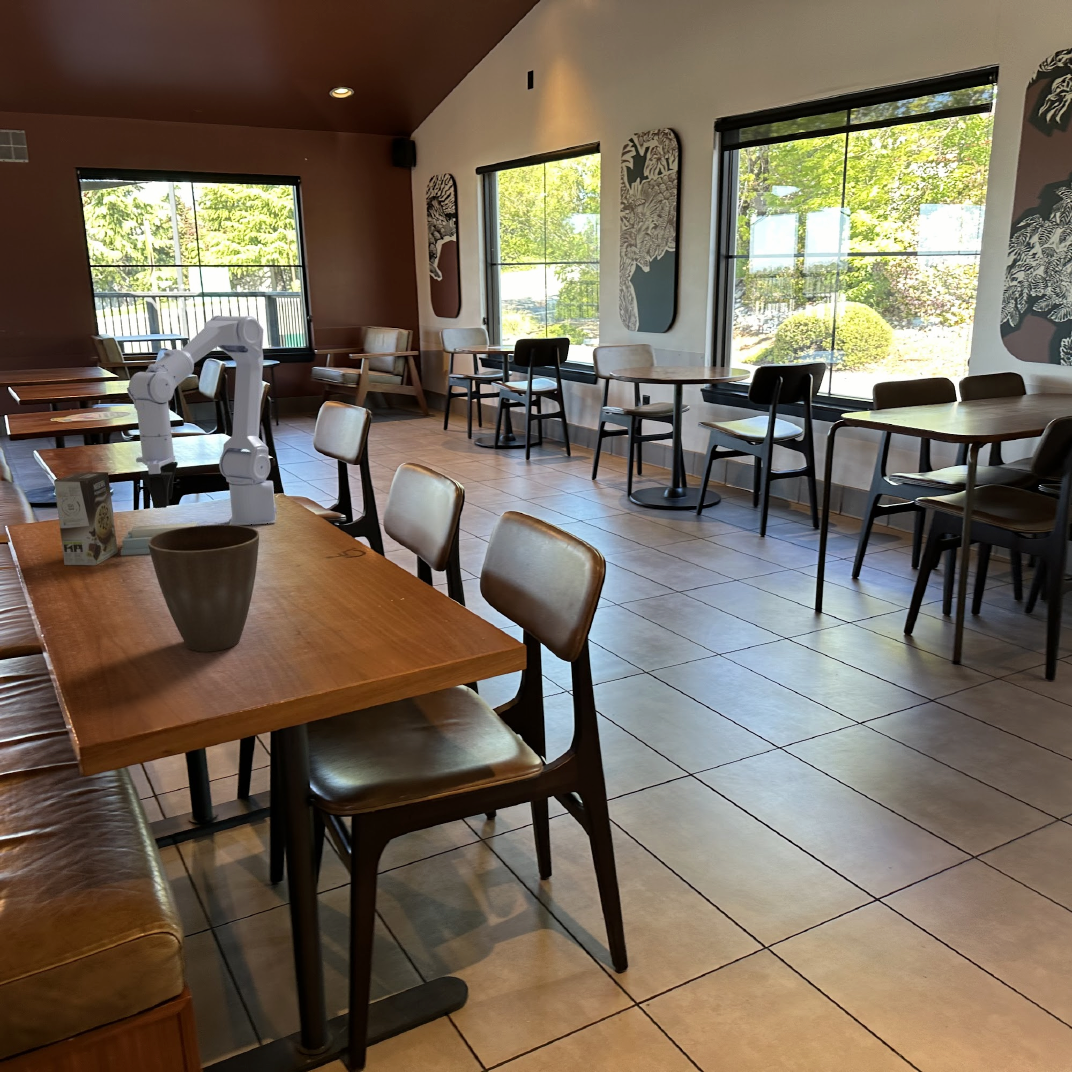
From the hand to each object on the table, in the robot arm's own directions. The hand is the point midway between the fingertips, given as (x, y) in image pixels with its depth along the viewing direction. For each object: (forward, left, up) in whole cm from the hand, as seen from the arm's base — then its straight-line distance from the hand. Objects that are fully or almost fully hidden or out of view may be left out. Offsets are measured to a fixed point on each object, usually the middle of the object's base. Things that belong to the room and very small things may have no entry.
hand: (163, 503), depth 188 cm
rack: (0, 0, -9) cm, 9 cm away
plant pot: (-13, +58, -9) cm, 60 cm away
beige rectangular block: (0, 0, -8) cm, 8 cm away
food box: (+13, +6, -9) cm, 17 cm away
